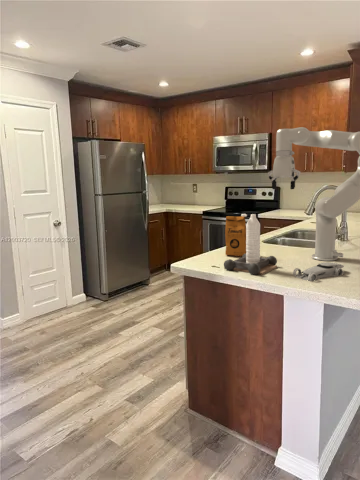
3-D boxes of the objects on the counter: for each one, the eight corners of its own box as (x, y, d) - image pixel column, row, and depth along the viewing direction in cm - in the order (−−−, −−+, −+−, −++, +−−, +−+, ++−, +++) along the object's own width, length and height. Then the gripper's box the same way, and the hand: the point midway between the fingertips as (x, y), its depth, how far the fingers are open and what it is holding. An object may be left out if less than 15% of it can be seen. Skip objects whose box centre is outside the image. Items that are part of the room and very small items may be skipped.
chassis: (278, 266, 169) (279, 256, 169) (259, 276, 155) (260, 265, 154) (242, 261, 182) (242, 251, 181) (222, 269, 168) (221, 259, 167)
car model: (290, 276, 155) (291, 265, 154) (330, 268, 165) (331, 258, 164) (310, 282, 145) (310, 271, 144) (351, 274, 155) (351, 263, 154)
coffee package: (245, 257, 190) (245, 217, 186) (223, 256, 195) (222, 216, 191) (249, 254, 198) (249, 215, 194) (228, 252, 204) (228, 214, 200)
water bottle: (259, 264, 171) (260, 213, 167) (260, 267, 165) (260, 214, 160) (241, 264, 173) (241, 213, 168) (241, 267, 167) (241, 215, 162)
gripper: (303, 153, 173) (302, 188, 176) (271, 155, 184) (270, 188, 187) (297, 153, 168) (296, 189, 171) (264, 155, 179) (264, 189, 182)
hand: (283, 189), depth 179 cm, fingers open, 9 cm apart
